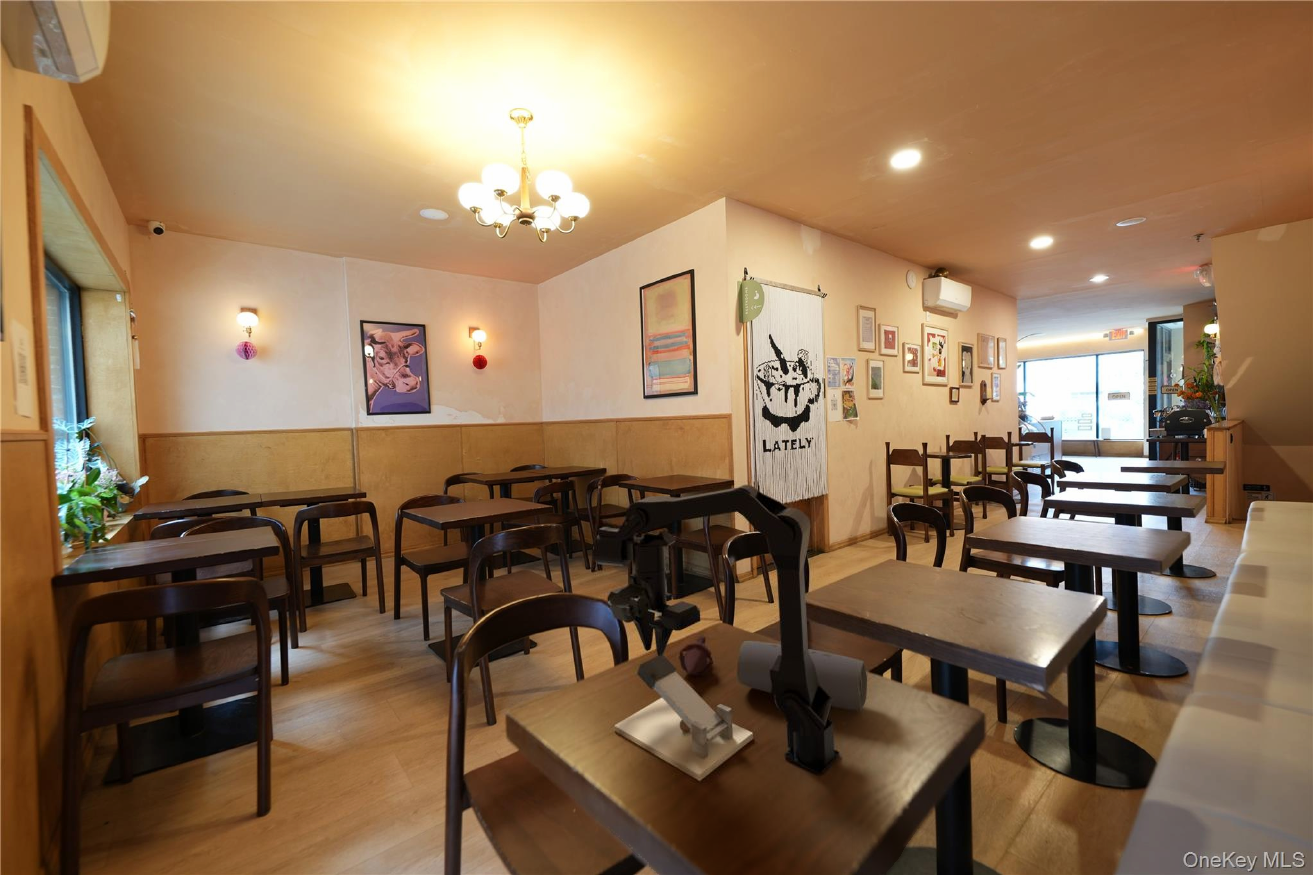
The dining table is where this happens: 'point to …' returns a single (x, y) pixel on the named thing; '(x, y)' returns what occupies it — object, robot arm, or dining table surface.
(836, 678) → the bluetooth speaker
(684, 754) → the nutcracker board
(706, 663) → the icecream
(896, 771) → the dining table surface
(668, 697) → the lever
